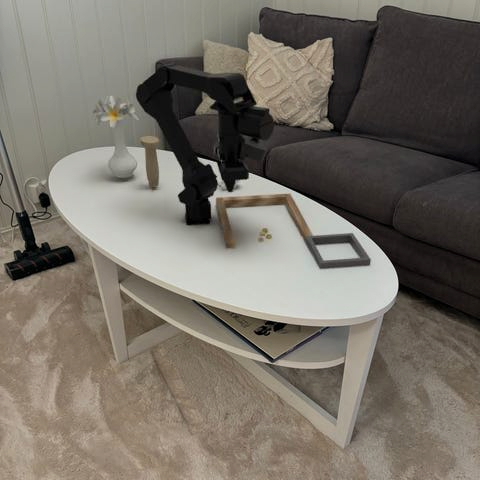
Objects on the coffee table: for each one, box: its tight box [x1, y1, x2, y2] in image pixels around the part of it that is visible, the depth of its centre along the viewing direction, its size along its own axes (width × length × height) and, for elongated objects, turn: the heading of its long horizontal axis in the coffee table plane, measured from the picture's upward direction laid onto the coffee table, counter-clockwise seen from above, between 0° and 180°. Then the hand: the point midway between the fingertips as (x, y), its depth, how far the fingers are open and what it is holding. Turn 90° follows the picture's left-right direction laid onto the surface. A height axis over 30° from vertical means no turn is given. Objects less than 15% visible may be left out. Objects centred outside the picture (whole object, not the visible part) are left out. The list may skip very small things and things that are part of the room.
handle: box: [140, 135, 160, 188], centre depth 144 cm, size 5×6×15 cm
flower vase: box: [92, 95, 140, 179], centre depth 148 cm, size 13×18×25 cm
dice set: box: [257, 227, 273, 243], centre depth 121 cm, size 5×5×2 cm
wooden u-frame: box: [215, 193, 314, 249], centre depth 127 cm, size 22×25×2 cm
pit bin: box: [305, 232, 372, 269], centre depth 113 cm, size 12×12×3 cm
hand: (230, 191), depth 117 cm, fingers closed
